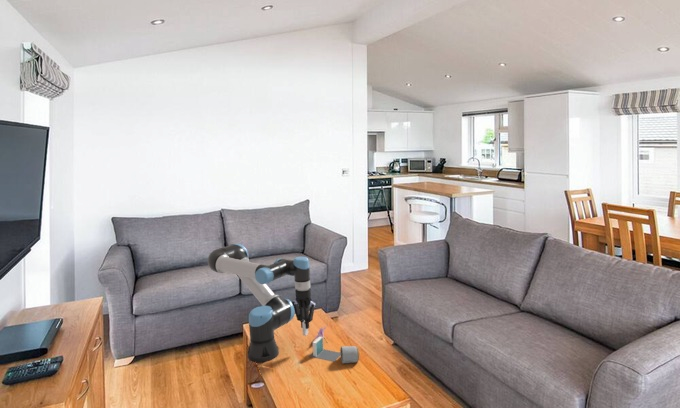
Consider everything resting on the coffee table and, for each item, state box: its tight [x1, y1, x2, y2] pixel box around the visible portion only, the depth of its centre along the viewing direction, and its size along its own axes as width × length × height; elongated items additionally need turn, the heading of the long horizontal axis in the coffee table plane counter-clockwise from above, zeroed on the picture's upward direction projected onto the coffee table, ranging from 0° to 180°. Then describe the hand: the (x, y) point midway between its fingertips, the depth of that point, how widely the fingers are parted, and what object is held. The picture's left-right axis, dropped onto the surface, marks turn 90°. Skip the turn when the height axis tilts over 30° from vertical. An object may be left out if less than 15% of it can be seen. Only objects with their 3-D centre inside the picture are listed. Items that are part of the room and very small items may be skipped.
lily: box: [310, 324, 328, 344], centre depth 220 cm, size 12×12×10 cm
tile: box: [312, 337, 324, 357], centre depth 208 cm, size 2×7×7 cm, turn 154°
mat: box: [308, 348, 341, 363], centre depth 207 cm, size 14×9×1 cm, turn 64°
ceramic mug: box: [339, 345, 360, 365], centre depth 201 cm, size 11×8×8 cm
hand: (305, 334), depth 210 cm, fingers closed
